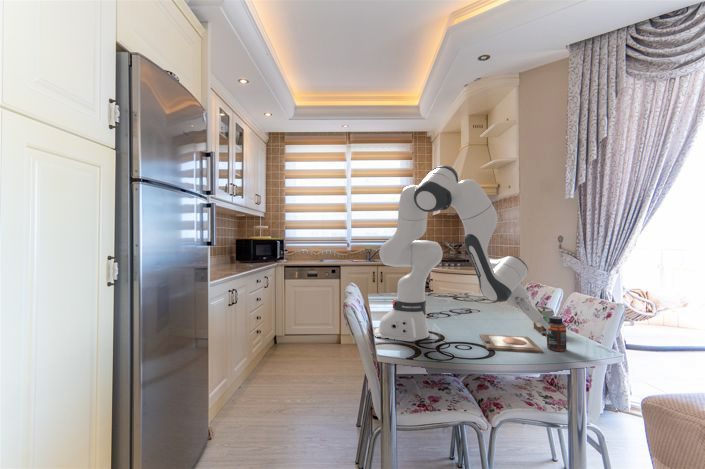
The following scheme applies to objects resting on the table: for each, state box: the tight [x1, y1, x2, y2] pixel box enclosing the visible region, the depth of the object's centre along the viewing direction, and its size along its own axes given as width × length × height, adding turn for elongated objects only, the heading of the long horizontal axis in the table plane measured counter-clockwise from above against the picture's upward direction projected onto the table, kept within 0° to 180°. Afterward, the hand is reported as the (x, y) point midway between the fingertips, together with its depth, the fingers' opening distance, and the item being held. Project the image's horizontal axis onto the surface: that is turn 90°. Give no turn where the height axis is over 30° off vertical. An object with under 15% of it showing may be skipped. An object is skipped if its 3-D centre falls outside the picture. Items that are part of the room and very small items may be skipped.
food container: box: [532, 305, 555, 336], centre depth 135 cm, size 12×6×10 cm, turn 168°
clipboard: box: [479, 333, 544, 354], centre depth 120 cm, size 18×16×2 cm
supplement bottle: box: [546, 315, 567, 353], centre depth 114 cm, size 6×6×11 cm
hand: (546, 324), depth 115 cm, fingers open, 8 cm apart
